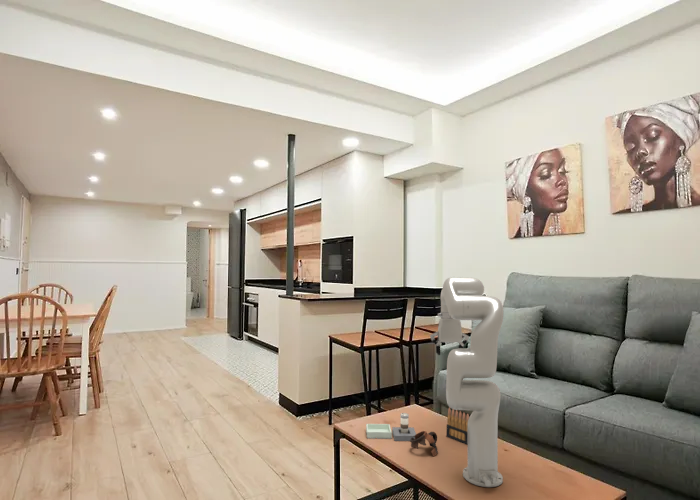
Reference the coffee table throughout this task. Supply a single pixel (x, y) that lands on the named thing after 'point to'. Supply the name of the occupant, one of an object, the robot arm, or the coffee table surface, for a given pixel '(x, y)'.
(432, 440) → the pottery mug
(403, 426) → the cylinder
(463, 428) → the ammunition clip
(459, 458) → the coffee table surface
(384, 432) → the parts tray
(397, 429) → the socket block
